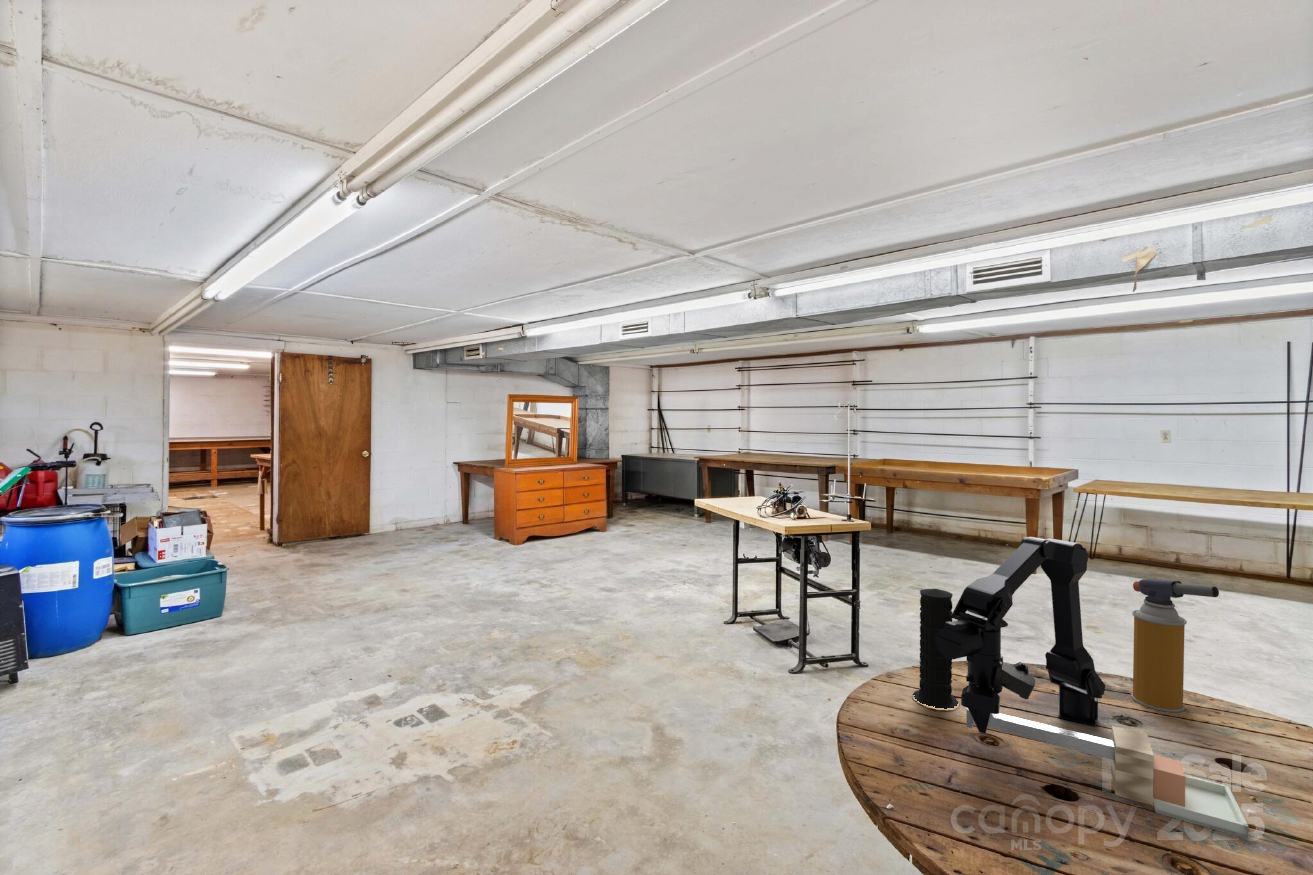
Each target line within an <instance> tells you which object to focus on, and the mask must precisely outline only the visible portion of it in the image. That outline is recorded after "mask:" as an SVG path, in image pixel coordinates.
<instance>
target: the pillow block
mask: <svg viewBox="0 0 1313 875" xmlns="http://www.w3.org/2000/svg"><path fill="white" fill-rule="evenodd" d="M1111 740H1112V741H1114V745H1115V760H1111V759H1110V761H1111V762H1110V763H1111V764H1110V765H1111V766H1110V774H1111V779H1112V784H1113V790H1114V794H1115V796H1117V797H1121V798H1125V799H1128V800H1132V801H1136V802H1139V803H1142V804H1146V805H1150V806H1153V807H1154V805H1153V779H1154V755H1155V754H1154V752H1153V748H1152V745H1151V742H1150V738H1149V736H1148V734H1147V733H1144V732H1141V731H1136V730H1133V729H1132V730H1131V729H1126V728H1123V727H1120V726H1119V727H1118V726H1114V725H1111Z"/></svg>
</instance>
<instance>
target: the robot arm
mask: <svg viewBox="0 0 1313 875" xmlns="http://www.w3.org/2000/svg"><path fill="white" fill-rule="evenodd" d="M1088 561H1089V554H1088V552H1087V548H1086V547H1084V546H1083V545H1082V544H1081V543H1078V542H1073V541H1067V540H1062V539H1057V538H1056V539H1055V538H1050V537H1049V538H1046V539H1045V538H1039V537H1034V536H1026V537H1024V538H1022V539H1021V543H1020V545H1019V547H1017V549H1016V550H1014V551H1013V552H1012V553H1011V555H1010V556H1008V557H1007V558H1006V560H1004V561H1003V563H1002V564H1000V565H999V567H997V569H996V570H995V571H994V572H992V573H991V574H989V575H987V576H984V577H982V578H981V577H980V578H978V579H975V580H974V581H972V583H971V582H970V584H968V585H967V586H966V587H965V588H964V590H963V592H962V593H961V595H960V597H959V599H958V601H957V604H956V605H955V608H954V610H953V611H952V612H953V613H952V615H951V617H952V622H951V621H948V622H945V626H944V628H943V629H940V630H939V631H938V633H937V635H936V636H935V641H936V646H937V648H938V650H939V651H940V653H941V654H942V655H943V656H944V657H946V658H948V659H951V660H952V661H953V660H957V659H961V658H965V657H966V662H967V673H966V678H965V679H966V680H965V681H966V682H968V685H966V686H965V687H963V688H962V692H961V695H960V705H961V706H962V707H964V708H966V709H967V708H968V709H969V711H970V713H971V715H972V717H973V720H974V722H975V724H976V725H975V726H976V728H977V731H978V732H979V733H980V734H986V733H987V729H988V728H987V725H988V721H989V717H990V713H992V714H999V713H1000V706H1001V696H1000V695H998V694H1000V693H1002V692H1003V688H1005V690H1008V691H1010V692H1013V693H1014V694H1016V695H1018V696H1019V697H1020V698H1021V699H1024V700H1029V698H1030V696H1031V694H1032V692H1033V690H1034V689H1035V686H1036V679H1035V677H1034V675H1033V674H1030V673H1029V666H1028V665H1027V664H1026V663H1023V662H1022V661H1019V662H1017V663H1015V664H1007V663H1005V662H1004V656H1002V651H1001V650H1002V649H1001V648H1002V646H1001V645H1002V633H1001V632H1002V629H1003V628H1006V627H1008V626H1009V624H1008V622H1007V620H1005V619H1003V618H1004V617H1005V616H1006V615H1007V613H1008V612H1009V610H1010V609H1011V608H1012V606H1013V602H1014V601H1013V596H1014V593H1015V592H1016V591H1017V590H1018V589H1019V588H1020V587H1021V586H1022V585H1023V584H1024V583H1025V582H1026V581H1027V579H1029V578H1030V577H1031V575H1033V574H1034V572H1035V571H1036V570H1037V569H1038V568H1039V567H1040V568H1041V570H1042V571H1043V573H1044V574H1045V575H1046V576H1047V577H1048V580H1050V590H1051V600H1052V601H1051V604H1052V614H1053V615H1052V616H1053V628H1054V630H1053V632H1054V642H1055V643H1054V645H1053V646H1052V648H1050V650H1049V651H1047V652H1045V654H1044V656H1045V660H1046V661H1045V662H1046V665H1045V669H1046V670H1047V673H1048V677H1049V681H1050V683H1051V684H1053V685H1054V684H1055V685H1057V686H1058V704H1057V712H1058V718H1059V719H1063V720H1067V721H1072V722H1075V723H1081V724H1085V725H1088V726H1092V727H1093V726H1094V727H1096V721H1098V720H1099V702H1098V700H1099V699H1102V696H1104V695H1105V691H1106V683H1105V682H1103V680H1102V678H1101V677H1100V676H1099V674H1098V673H1097V672H1096V668H1095V663H1094V659H1093V657H1092V656H1091V654H1090V653H1089V652H1088V650H1087V648H1086V647H1085V646H1084V641H1083V640H1084V639H1083V629H1082V628H1083V627H1082V612H1081V611H1082V610H1081V601H1080V600H1081V596H1080V584H1079V582H1080V580H1081V579H1082V577H1083V576H1084V575H1085V573H1086V572H1087V570H1088ZM970 613H971V614H970ZM979 616H980V617H979Z"/></svg>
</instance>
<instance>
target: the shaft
mask: <svg viewBox="0 0 1313 875" xmlns="http://www.w3.org/2000/svg"><path fill="white" fill-rule="evenodd" d="M965 723H966V728H968V729H973V726H974V725H975V726H976V724H975V722H974V720H973V717H972V715H971V713H970V711H969V709H968V708H967V707H966V722H965ZM987 729H990V730H994V731H998V732H1001V733H1005V734H1006V733H1007V734H1011V735H1015V736H1017V737H1021V738H1026V739H1030V740H1033V741H1038V742H1042V743H1044V744H1045V743H1046V744H1049V745H1053V746H1057V747H1060V748H1065V749H1069V750H1073V751H1078V752H1081V753H1085V754H1088V755H1093V756H1097V757H1100V758H1104V759H1109V760H1110V761H1111V760H1115V745H1114V741H1112V739H1107V738H1104V737H1099V736H1096V735H1095V736H1094V735H1091V734H1087V733H1082V732H1078V731H1074V730H1070V729H1066V728H1061V727H1057V726H1053V725H1049V724H1046V723H1041V722H1037V721H1032V720H1028V719H1024V718H1020V717H1017V716H1011V715H1007V714H1004V713H1000V712H999V714H992V713H990V717H989V721H988V725H987Z"/></svg>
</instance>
